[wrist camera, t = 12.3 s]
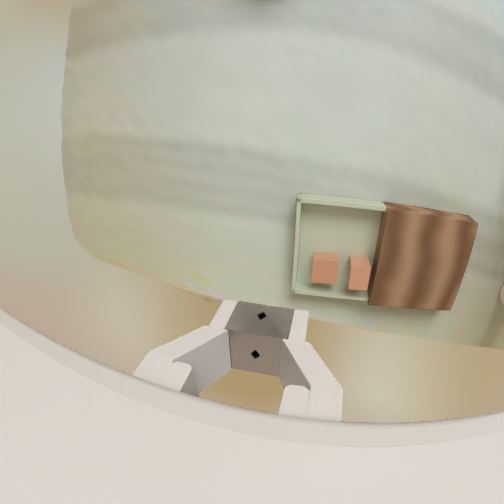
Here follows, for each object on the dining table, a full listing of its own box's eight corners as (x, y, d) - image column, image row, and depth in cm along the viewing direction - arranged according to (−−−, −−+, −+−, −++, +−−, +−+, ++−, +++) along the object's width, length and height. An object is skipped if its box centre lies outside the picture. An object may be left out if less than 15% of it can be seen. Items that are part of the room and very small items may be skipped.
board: (468, 215, 35) (478, 223, 32) (444, 297, 42) (450, 310, 39) (382, 201, 39) (387, 209, 35) (366, 291, 46) (368, 304, 42)
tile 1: (313, 259, 42) (314, 251, 45) (311, 282, 44) (312, 273, 46) (339, 261, 41) (338, 253, 44) (336, 284, 43) (336, 274, 45)
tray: (382, 201, 39) (386, 207, 36) (366, 291, 46) (367, 301, 43) (298, 193, 42) (296, 198, 39) (293, 283, 49) (291, 293, 46)
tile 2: (349, 254, 43) (367, 255, 42) (347, 276, 45) (364, 277, 44) (351, 266, 40) (370, 267, 39) (348, 289, 41) (366, 290, 41)
